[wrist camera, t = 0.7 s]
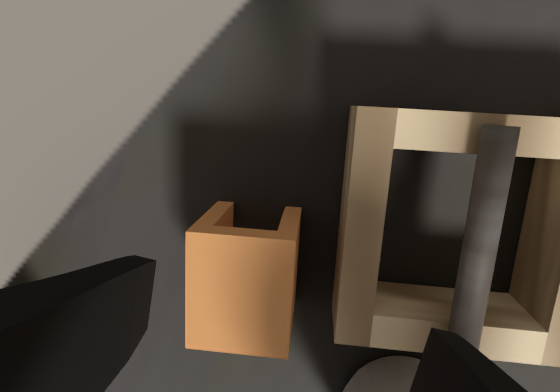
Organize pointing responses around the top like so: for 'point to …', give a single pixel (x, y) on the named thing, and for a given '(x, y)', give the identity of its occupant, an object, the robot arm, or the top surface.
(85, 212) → the top surface
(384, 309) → the shelf block
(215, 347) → the orange u-channel
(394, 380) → the coffee cup
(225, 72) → the top surface
